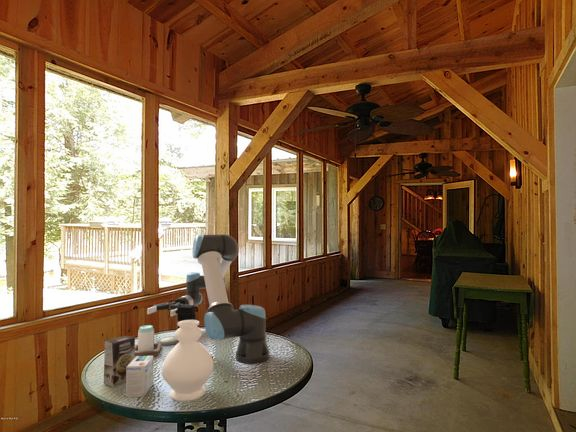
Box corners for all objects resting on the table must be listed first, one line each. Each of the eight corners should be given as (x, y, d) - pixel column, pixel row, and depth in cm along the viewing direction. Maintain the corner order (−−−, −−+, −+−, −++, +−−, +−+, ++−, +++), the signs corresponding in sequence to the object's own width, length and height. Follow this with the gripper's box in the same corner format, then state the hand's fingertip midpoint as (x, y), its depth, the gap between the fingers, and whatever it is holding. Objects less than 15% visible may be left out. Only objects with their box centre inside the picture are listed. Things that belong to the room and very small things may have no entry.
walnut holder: (158, 355, 169) (158, 351, 169) (129, 357, 167) (129, 353, 167) (161, 347, 181) (161, 343, 181) (134, 348, 179) (134, 344, 179)
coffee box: (113, 387, 136) (113, 343, 136) (103, 383, 139) (103, 340, 140) (135, 378, 144) (135, 337, 144) (125, 375, 147) (125, 334, 148)
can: (135, 355, 170) (136, 328, 170) (140, 350, 177) (140, 324, 177) (151, 354, 171) (151, 328, 171) (155, 349, 178) (155, 324, 178)
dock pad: (180, 344, 185) (180, 342, 185) (154, 346, 182) (154, 344, 182) (181, 337, 197) (181, 335, 197) (157, 339, 194) (157, 337, 194)
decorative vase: (167, 383, 140) (168, 316, 140) (215, 381, 142) (215, 315, 142) (155, 406, 122) (156, 330, 123) (210, 403, 124) (211, 328, 125)
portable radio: (197, 353, 173) (198, 299, 174) (192, 357, 167) (193, 302, 168) (181, 352, 174) (181, 299, 174) (176, 357, 168) (176, 301, 168)
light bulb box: (135, 384, 139) (135, 355, 139) (153, 383, 140) (153, 354, 140) (125, 397, 128) (125, 366, 129) (145, 396, 129) (145, 365, 129)
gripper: (203, 312, 201) (180, 322, 180) (163, 308, 208) (138, 318, 188) (203, 298, 201) (181, 306, 181) (164, 295, 208) (138, 303, 188)
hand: (159, 312), depth 184 cm, fingers open, 13 cm apart
